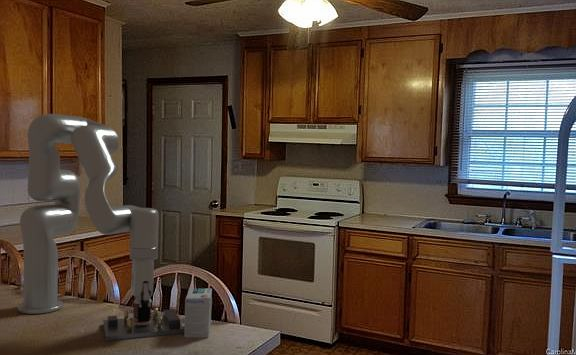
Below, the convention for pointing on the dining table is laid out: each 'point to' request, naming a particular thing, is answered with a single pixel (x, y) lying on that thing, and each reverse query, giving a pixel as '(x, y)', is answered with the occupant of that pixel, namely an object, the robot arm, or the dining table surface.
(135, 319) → the pill bottle
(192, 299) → the light bulb box
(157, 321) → the chassis
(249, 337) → the dining table surface
